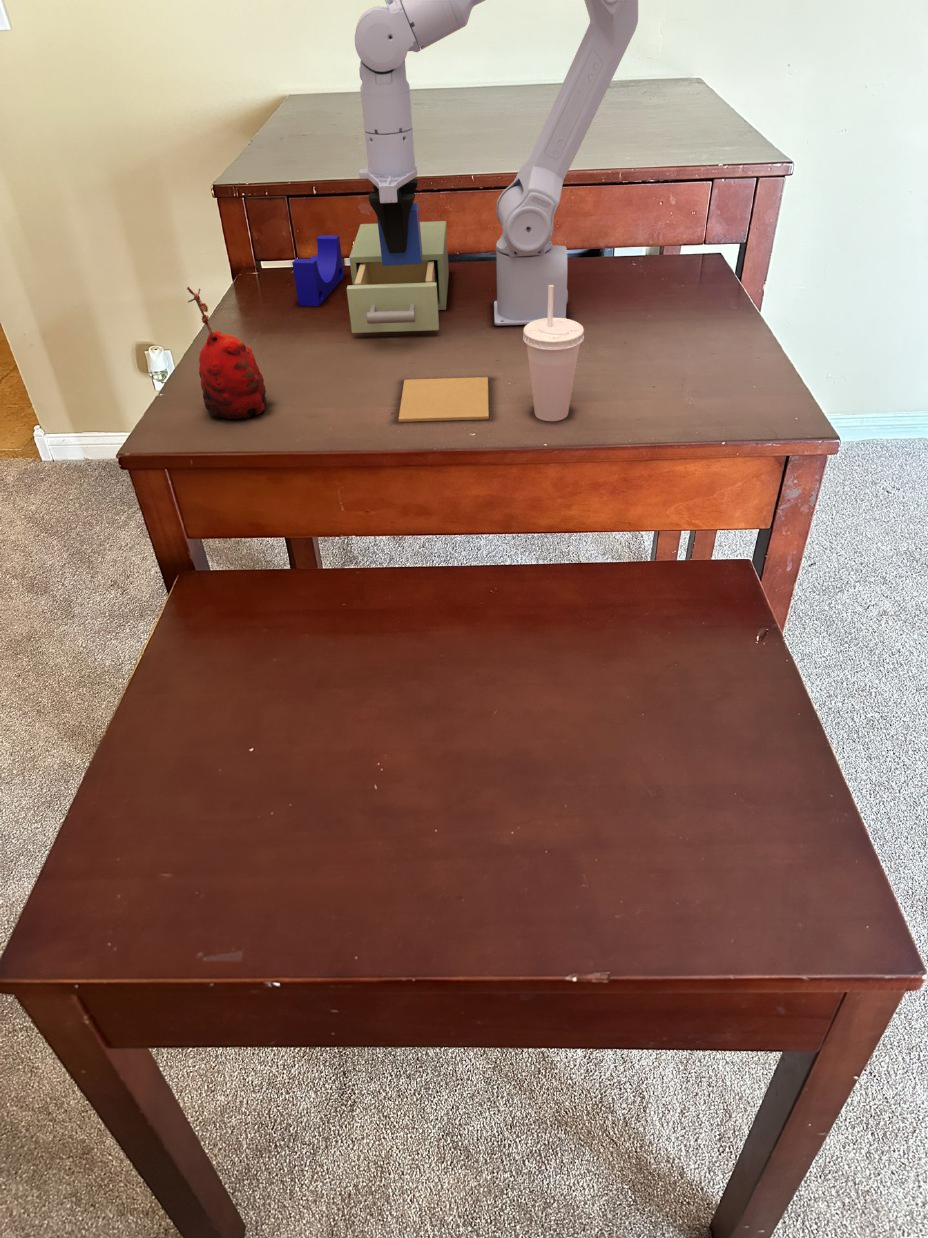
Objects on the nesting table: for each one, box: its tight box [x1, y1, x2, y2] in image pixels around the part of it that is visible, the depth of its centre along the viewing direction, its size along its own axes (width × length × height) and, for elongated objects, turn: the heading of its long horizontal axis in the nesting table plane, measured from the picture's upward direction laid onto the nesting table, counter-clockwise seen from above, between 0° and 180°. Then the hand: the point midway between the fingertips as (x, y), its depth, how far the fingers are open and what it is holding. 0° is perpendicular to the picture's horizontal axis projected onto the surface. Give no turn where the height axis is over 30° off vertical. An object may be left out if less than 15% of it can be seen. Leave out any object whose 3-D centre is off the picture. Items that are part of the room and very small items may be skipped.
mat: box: [398, 376, 490, 423], centre depth 103 cm, size 10×10×1 cm
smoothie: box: [522, 285, 585, 422], centre depth 95 cm, size 6×6×14 cm
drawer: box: [346, 260, 440, 334], centre depth 119 cm, size 18×11×6 cm, turn 179°
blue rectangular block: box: [376, 202, 423, 266], centre depth 114 cm, size 5×3×6 cm
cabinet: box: [348, 220, 450, 311], centre depth 128 cm, size 15×13×8 cm
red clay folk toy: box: [186, 286, 267, 420], centre depth 98 cm, size 8×7×15 cm
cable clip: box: [291, 234, 345, 307], centre depth 130 cm, size 12×4×6 cm, turn 168°
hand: (398, 247), depth 115 cm, fingers closed on blue rectangular block, 3 cm apart
